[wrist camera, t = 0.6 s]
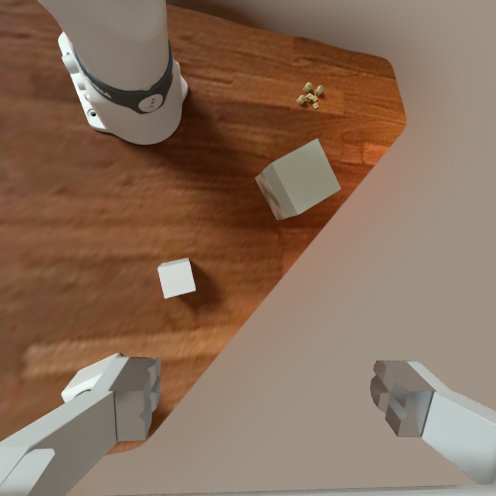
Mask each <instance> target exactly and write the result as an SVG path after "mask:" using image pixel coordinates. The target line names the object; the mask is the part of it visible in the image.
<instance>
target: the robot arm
mask: <svg viewBox="0 0 496 496" xmlns="http://www.w3.org/2000/svg"><path fill="white" fill-rule="evenodd" d="M37 1H38V2H39V3H40V4H41V5H42V6H44V7H45V8H46V9H47V10H48V11H49V12H50V13H51V14H52V16H53V17H54V18H55V20H56V21H57V22H58V24H59V25H60V27H61V28H62V30H63V33H62V34H61V35H60V37H59V39H58V42H59V46H60V48H61V51H62V54H63V57H62V59H63V62H64V64H65V66H66V68H67V70H68V71H69V73H70V75H71V77H72V80H73V83H74V85H75V88H76V91H77V93H78V96H79V99H80V101H81V104H82V106H83V109H84V112H85V114H86V117H87V120H88V122H89V124H90V126H91V127H92V128H93V129H95V130H98V131H103V132H110V133H113V134H115V135H117V136H118V137H120V138H122V139H124V140H126V141H129V142H132V143H135V144H143V145H148V144H155V143H158V142H161V141H163V140H165V139H167V138H168V137H169V136H170V135H172V134H173V132H174V131H175V130H176V128H177V127H178V125H179V122H180V119H181V114H182V103H183V101H184V99H185V97H186V95H187V93H188V85H187V83H186V81H185V80H184V79H183V78H182V76H181V73H180V66H179V64H178V62H176V61H175V60H174V58H173V54H172V49H171V45H170V41H169V39H168V30H167V15H166V3H165V0H37ZM92 114H96V116H95V117H93V116H92ZM160 369H161V362H160V358H153V357H115V358H114V359H113V360H112V361H111V363H110V364H109V365H108V367H107V368H106V370H105V371H104V372H103V374H102V375H101V377H100V378H99V379H98V381H97V382H96V384H95V385H94V386H93V388H92V389H91V391H85V392H83V393H82V394H80V395H78V396H77V397H75V398H73V399H72V400H70V401H68V402H67V403H65V404H63V405H62V406H60V407H58V408H57V409H55V410H53V411H52V412H50V413H48V414H47V415H45V416H43V417H42V418H40V419H38V420H36V421H35V422H33V423H31V424H30V425H28V426H26V427H25V428H23V429H21V430H20V431H18V432H16V433H15V434H13V435H11V436H10V437H8V438H6V439H5V440H3V441H1V442H0V496H65V495H66V494H67V493H68V492H69V491H70V490H71V488H73V487H74V486H75V485H76V484H77V483H78V482H79V480H81V479H82V478H83V477H84V476H85V474H87V473H88V472H89V471H90V469H92V468H93V466H94V465H95V464H96V463H97V462H98V461H99V460H100V459H101V458H102V457H103V456H104V455H105V454H106V453H107V452H108V451H109V450H110V449H111V448H112V447H113V446H114V445H115V444H116V441H135V440H145V439H146V436H147V433H148V430H149V427H150V425H151V422H152V412H153V411H154V410H155V409H156V407H157V404H158V401H159V396H160V390H161V378H160V377H159V376H158V374H159V371H160ZM373 370H374V372H375V374H376V376H375V377H374V378H373V379H372V380H371V385H370V390H371V396H372V398H373V401H374V403H375V404H376V406H377V407H378V408H379V409H380V410H381V411H383V412H384V413H386V417H385V419H386V421H387V422H388V424H389V425H390V426H391V428H392V429H393V431H394V432H395V434H396V435H397V437H422V439H423V440H424V441H425V442H426V443H428V444H429V445H430V446H431V447H433V448H434V449H435V450H436V451H438V452H439V453H440V454H441V455H443V456H444V457H445V458H446V459H448V460H449V461H450V462H451V463H452V464H454V465H455V466H456V467H457V468H459V469H460V470H461V471H462V472H464V473H465V474H466V475H468V477H470V478H471V479H472V480H473V481H475V482H476V483H478V485H452V486H422V487H421V486H420V487H419V486H418V487H387V488H386V487H384V488H350V489H316V490H284V491H251V492H250V491H249V492H216V493H183V494H151V495H115V496H496V411H494V410H492V409H490V408H488V407H486V406H484V405H481V404H480V403H478V402H476V401H474V400H472V399H470V398H468V397H466V396H464V395H462V394H460V393H458V392H452V391H451V390H450V389H449V388H448V387H446V386H445V385H444V384H443V383H442V382H441V381H440V380H439V379H437V377H435V376H434V375H433V374H432V373H431V372H430V371H429V370H428V369H427V368H425V367H424V366H423V365H422V364H421V363H420V362H418V361H416V360H402V361H376V363H375V365H374V369H373Z"/></svg>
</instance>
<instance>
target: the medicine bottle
mask: <svg viewBox="0 0 496 496" xmlns="http://www.w3.org/2000/svg"><path fill="white" fill-rule="evenodd" d="M115 357H121V355H120V353H116V354H114V355H112V356H109V357H107V358H105V359H103V360H101V361H99V362H96V363H94V364H92V365H90V366H88V367H86V368H84V369H81V370H80V371H79V372H78V373H77V374H76V375H75V377H74V378H73V379H72V380H71V382H70V383H69V384H68V386H67V387H66V388H65V389H64V391H63V392H62V394H61V395H62V397H63V399H64V401H65V403H67V402H68V401H70V400H72V399H73V398H75V397H77V396H78V395H80V394H82V393H83V392H85V391H91V389H92V388H93V386H94V385H95V384H96V382H97V381H98V379H99V378H100V377H101V375H102V374H103V372H104V371H105V370H106V368H107V367H108V365H109V364H110V363H111V361H112V360H113V359H114V358H115Z"/></svg>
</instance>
